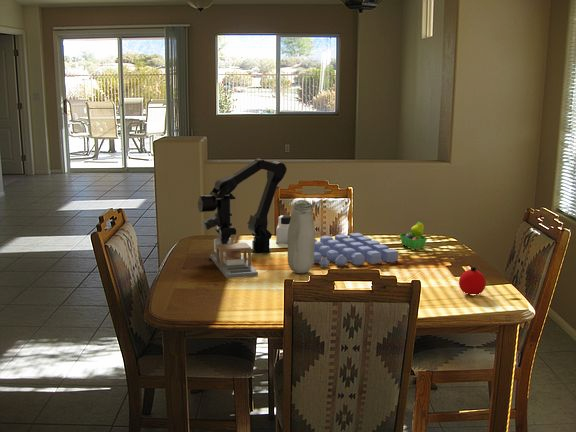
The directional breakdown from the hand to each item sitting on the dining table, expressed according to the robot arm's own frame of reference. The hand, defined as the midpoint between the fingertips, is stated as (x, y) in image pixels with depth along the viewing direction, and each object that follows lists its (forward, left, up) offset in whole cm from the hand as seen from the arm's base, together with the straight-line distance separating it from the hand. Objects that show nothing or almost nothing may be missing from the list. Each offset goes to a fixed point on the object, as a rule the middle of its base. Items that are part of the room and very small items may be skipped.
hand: (223, 247), depth 275 cm
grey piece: (0, +17, -4) cm, 18 cm away
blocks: (-48, +11, -5) cm, 50 cm away
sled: (0, +9, -2) cm, 9 cm away
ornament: (-71, +73, -4) cm, 102 cm away
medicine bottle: (-32, -17, -4) cm, 36 cm away
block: (0, +17, -1) cm, 17 cm away
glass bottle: (-23, +31, -4) cm, 39 cm away
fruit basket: (-84, +8, -4) cm, 84 cm away
